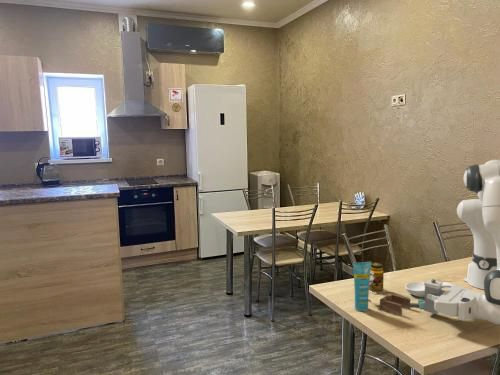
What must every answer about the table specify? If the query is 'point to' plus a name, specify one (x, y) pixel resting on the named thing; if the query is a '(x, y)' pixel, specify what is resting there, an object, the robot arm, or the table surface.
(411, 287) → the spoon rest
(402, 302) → the holder
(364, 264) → the tube
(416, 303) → the cable
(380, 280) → the condiment
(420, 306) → the clip
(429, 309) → the grey block with knob
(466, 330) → the table surface
